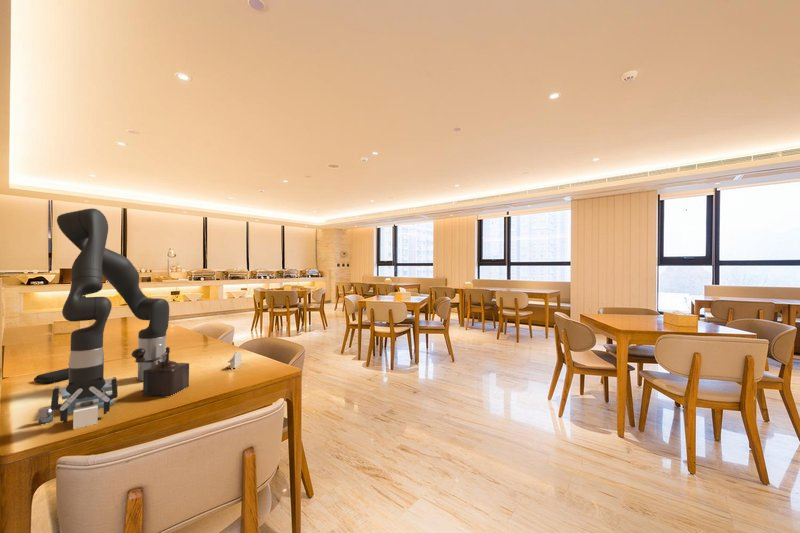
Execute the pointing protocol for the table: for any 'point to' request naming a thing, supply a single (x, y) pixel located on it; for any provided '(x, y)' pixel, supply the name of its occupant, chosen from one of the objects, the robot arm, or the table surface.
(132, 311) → the robot arm
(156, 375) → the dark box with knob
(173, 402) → the table surface
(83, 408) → the block
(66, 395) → the stand
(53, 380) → the carrying case or bag
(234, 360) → the architectural model
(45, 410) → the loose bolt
